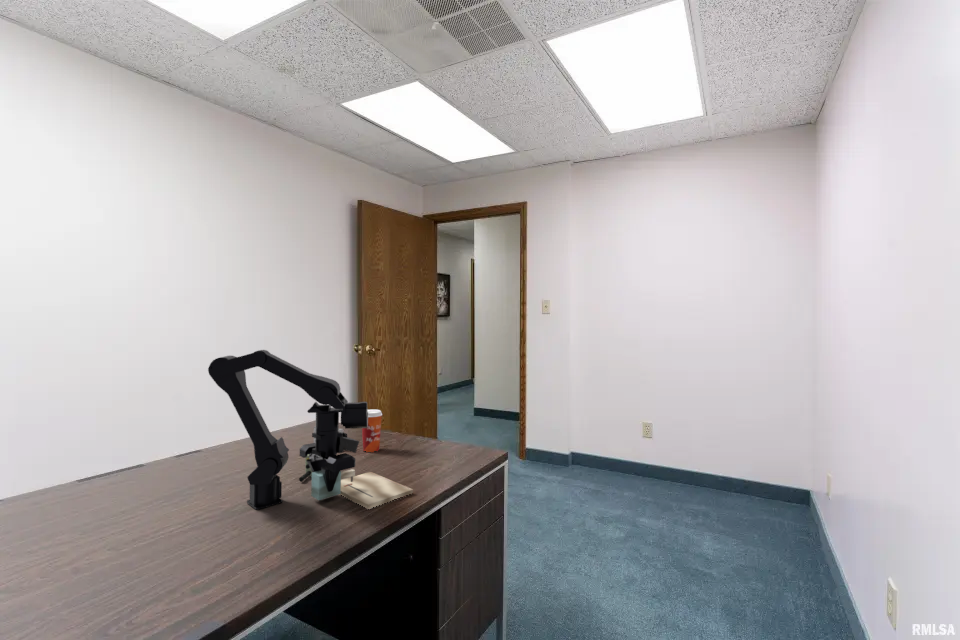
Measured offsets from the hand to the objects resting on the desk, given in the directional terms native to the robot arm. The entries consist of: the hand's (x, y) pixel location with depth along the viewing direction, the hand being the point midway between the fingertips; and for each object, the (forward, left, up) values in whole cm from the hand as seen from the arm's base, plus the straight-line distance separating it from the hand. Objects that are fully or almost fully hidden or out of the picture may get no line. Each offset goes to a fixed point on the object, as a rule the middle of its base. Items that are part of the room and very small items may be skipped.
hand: (326, 489), depth 116 cm
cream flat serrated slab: (+11, -3, -3) cm, 12 cm away
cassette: (+23, +41, -3) cm, 47 cm away
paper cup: (+33, +29, -3) cm, 44 cm away
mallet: (+3, 0, -2) cm, 3 cm away
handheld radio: (+10, +24, -3) cm, 26 cm away
